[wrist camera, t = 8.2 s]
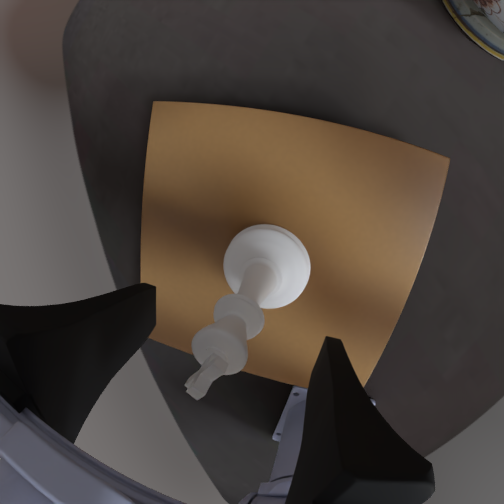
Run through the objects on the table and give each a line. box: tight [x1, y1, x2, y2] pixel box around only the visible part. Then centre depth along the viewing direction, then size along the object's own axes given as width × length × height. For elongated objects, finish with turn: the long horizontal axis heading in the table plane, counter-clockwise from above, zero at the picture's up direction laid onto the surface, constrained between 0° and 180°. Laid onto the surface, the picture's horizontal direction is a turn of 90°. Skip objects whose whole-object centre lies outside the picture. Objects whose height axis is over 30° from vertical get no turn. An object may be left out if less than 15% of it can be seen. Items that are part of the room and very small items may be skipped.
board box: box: [141, 101, 450, 388], centre depth 19 cm, size 17×17×4 cm
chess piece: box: [184, 224, 311, 400], centre depth 12 cm, size 5×5×10 cm
